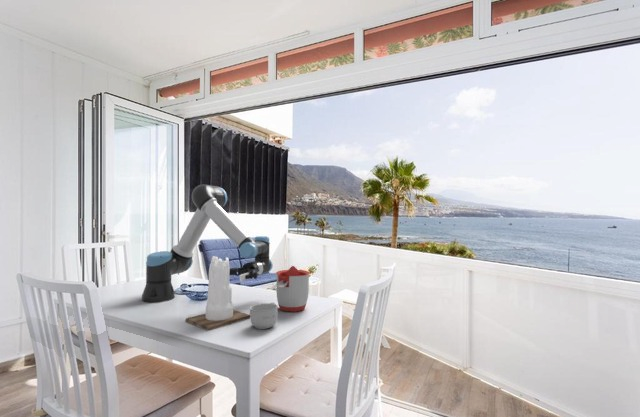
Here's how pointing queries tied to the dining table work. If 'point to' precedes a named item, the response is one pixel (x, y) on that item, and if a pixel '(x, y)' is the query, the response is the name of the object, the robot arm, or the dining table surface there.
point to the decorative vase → (219, 291)
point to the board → (208, 324)
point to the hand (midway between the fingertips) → (226, 277)
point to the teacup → (263, 315)
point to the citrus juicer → (292, 289)
